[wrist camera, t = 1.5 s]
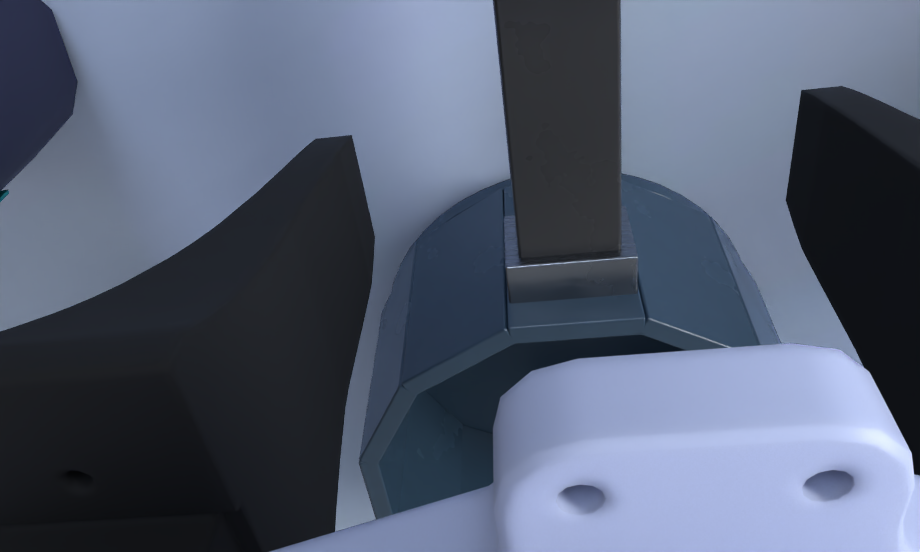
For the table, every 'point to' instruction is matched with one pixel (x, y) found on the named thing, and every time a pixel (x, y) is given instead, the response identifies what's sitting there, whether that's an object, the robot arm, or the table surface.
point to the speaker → (30, 84)
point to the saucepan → (541, 266)
